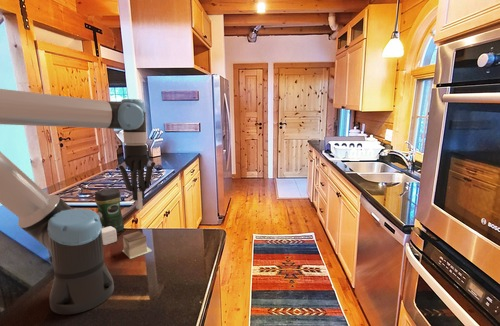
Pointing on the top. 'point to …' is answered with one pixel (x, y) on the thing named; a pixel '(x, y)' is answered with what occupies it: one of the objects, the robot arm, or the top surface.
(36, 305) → the top surface
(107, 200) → the coffee jar
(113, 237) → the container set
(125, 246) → the maple block
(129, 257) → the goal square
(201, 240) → the top surface
